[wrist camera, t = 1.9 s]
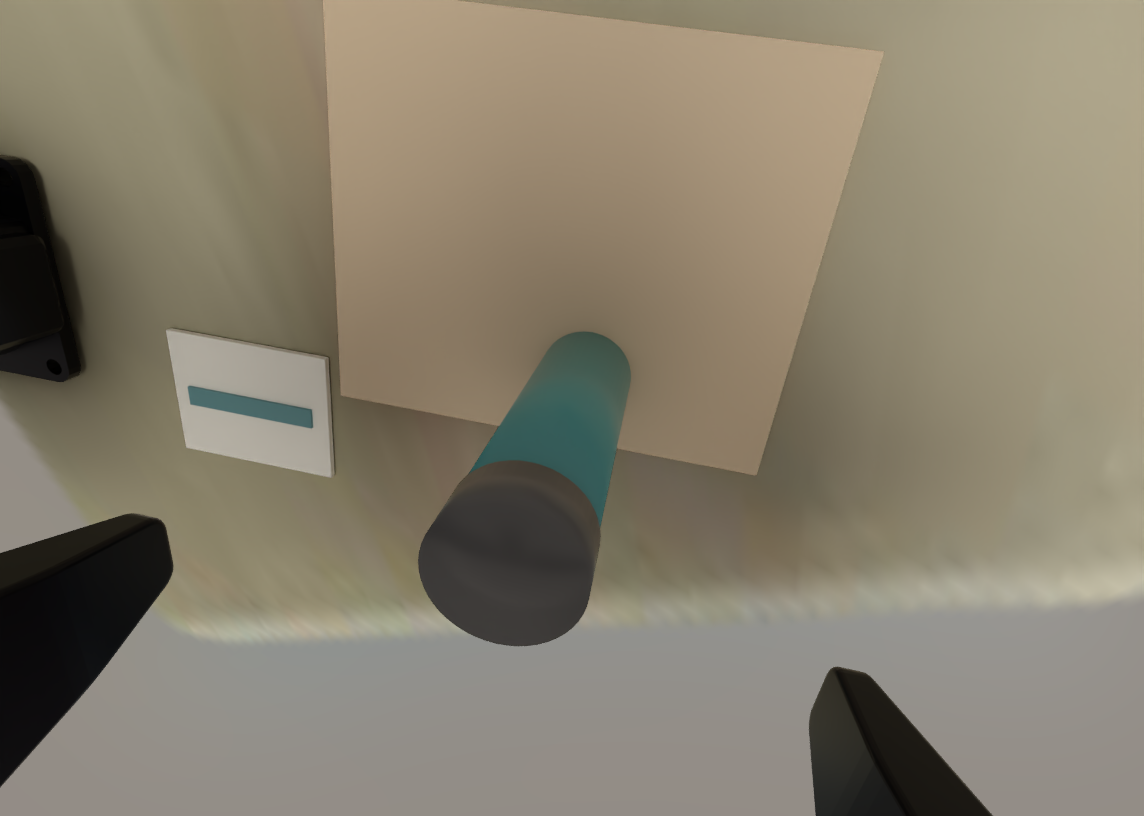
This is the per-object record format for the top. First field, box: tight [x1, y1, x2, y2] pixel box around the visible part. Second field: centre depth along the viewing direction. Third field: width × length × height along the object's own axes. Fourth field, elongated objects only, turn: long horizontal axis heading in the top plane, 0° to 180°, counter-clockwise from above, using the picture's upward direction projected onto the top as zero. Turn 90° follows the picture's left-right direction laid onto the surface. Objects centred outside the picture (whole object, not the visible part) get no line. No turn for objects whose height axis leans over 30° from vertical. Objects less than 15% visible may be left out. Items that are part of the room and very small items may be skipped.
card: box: [166, 328, 335, 478], centre depth 18 cm, size 5×4×1 cm
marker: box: [418, 332, 631, 646], centre depth 12 cm, size 2×2×8 cm
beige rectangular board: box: [323, 0, 884, 476], centre depth 15 cm, size 12×10×1 cm
